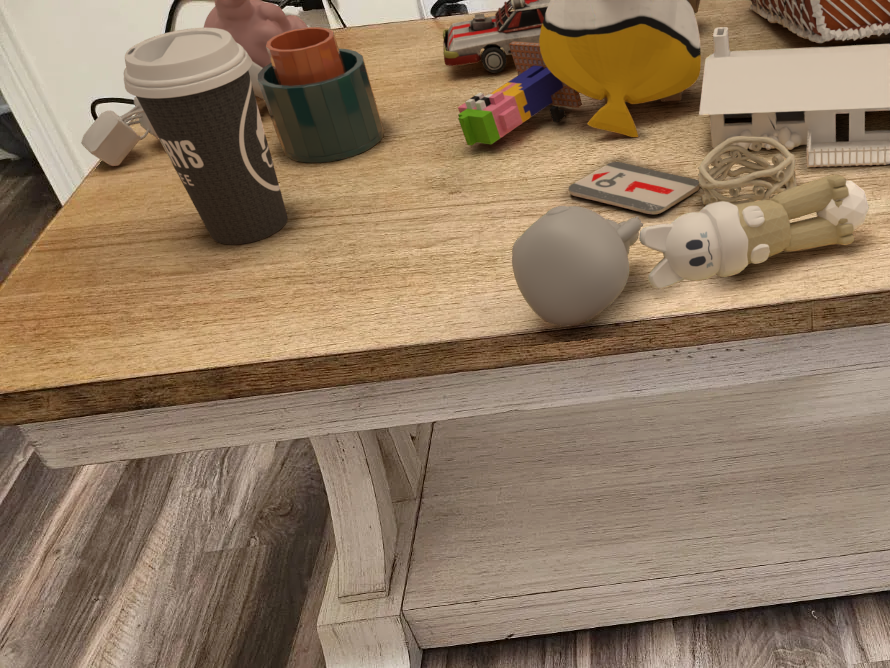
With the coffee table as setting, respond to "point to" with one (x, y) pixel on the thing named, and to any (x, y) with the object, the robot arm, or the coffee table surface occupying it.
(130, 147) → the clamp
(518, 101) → the figurine
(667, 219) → the coffee table surface
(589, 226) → the figurine
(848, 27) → the gingerbread house
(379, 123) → the teal round container
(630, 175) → the token
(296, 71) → the cup
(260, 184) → the coffee cup
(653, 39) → the fish
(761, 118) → the house
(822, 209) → the rabbit figurine
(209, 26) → the figurine
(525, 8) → the toy car
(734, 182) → the bracelet
